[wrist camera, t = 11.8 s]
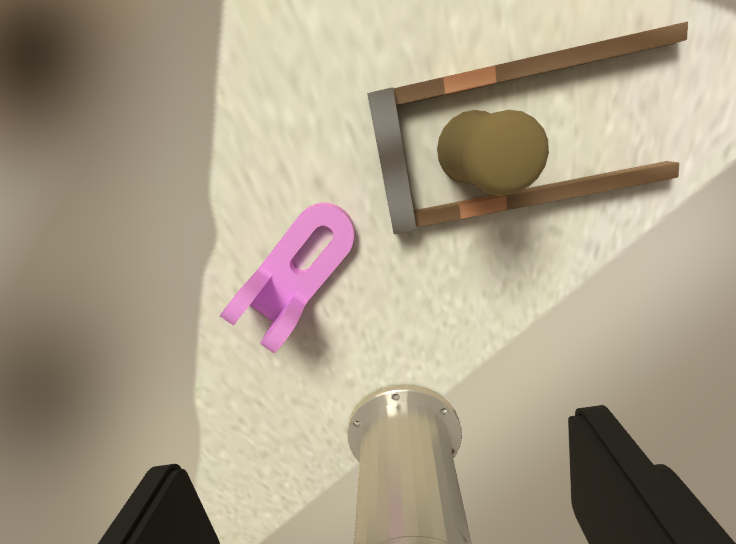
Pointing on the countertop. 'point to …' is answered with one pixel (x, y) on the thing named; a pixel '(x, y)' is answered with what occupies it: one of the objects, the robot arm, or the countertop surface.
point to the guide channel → (389, 98)
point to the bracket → (293, 273)
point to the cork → (494, 150)
